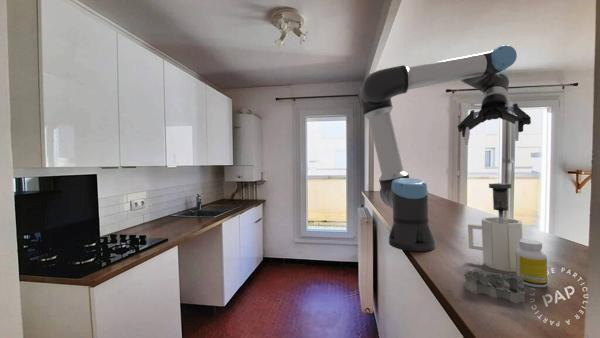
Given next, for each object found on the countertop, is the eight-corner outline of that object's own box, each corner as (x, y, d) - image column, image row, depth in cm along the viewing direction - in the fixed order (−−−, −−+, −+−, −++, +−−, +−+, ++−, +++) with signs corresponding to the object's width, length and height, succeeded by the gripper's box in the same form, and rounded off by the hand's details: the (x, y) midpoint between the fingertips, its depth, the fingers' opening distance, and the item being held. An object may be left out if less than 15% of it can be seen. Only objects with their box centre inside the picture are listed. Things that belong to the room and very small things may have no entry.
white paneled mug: (466, 263, 72) (464, 220, 72) (472, 255, 78) (471, 215, 78) (522, 275, 63) (520, 225, 63) (524, 264, 70) (522, 219, 69)
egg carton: (462, 292, 57) (461, 274, 57) (468, 280, 63) (467, 263, 63) (525, 307, 50) (524, 287, 50) (525, 292, 56) (524, 273, 56)
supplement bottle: (554, 289, 56) (552, 245, 56) (525, 287, 57) (523, 244, 57) (537, 278, 61) (535, 238, 61) (511, 277, 63) (509, 237, 63)
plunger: (487, 259, 69) (484, 184, 69) (490, 252, 74) (488, 183, 73) (516, 264, 65) (513, 185, 65) (517, 257, 69) (515, 183, 69)
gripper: (540, 102, 88) (541, 144, 78) (458, 115, 106) (449, 150, 95) (539, 84, 84) (540, 126, 74) (454, 100, 102) (445, 136, 91)
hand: (489, 140), depth 84 cm, fingers open, 13 cm apart
